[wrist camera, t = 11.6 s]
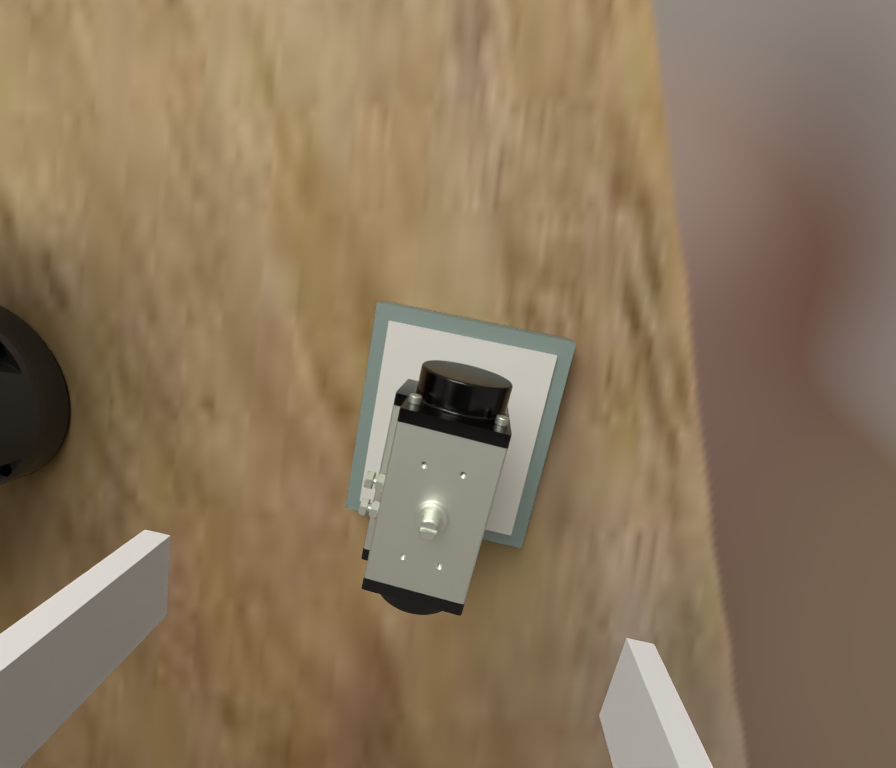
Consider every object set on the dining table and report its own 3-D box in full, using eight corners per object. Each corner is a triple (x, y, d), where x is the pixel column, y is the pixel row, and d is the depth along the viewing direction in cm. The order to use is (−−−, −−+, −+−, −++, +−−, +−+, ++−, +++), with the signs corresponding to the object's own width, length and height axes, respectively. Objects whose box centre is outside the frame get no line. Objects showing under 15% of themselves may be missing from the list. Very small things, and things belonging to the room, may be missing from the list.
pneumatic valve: (509, 358, 28) (523, 409, 16) (466, 518, 30) (451, 662, 19) (426, 338, 28) (379, 373, 16) (390, 498, 31) (329, 628, 19)
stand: (355, 492, 34) (344, 509, 31) (386, 301, 30) (376, 302, 28) (519, 529, 33) (521, 551, 30) (569, 338, 30) (577, 343, 27)
